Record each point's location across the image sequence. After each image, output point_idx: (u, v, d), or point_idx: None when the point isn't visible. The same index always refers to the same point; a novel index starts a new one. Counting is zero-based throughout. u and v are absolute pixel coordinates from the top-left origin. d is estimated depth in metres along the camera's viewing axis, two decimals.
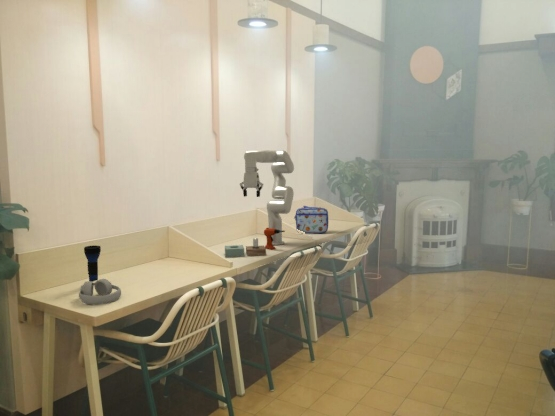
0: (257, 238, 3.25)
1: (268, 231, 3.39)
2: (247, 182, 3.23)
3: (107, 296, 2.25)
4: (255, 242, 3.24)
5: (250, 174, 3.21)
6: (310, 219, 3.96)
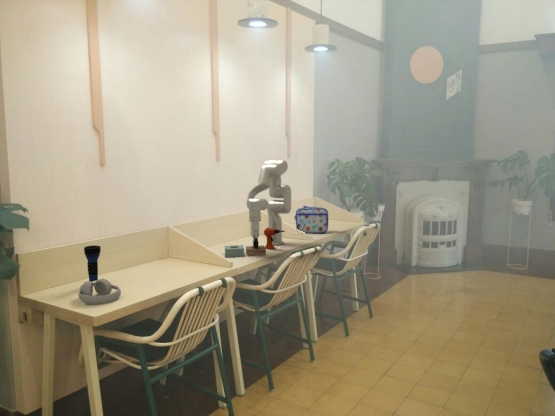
0: None
1: (268, 231, 3.39)
2: None
3: (107, 296, 2.26)
4: None
5: None
6: (310, 219, 3.96)
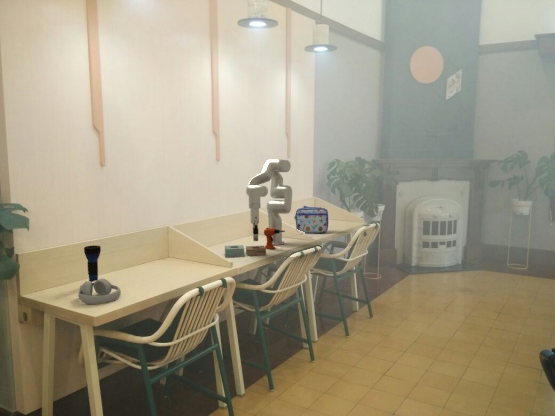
0: None
1: (268, 231, 3.39)
2: None
3: (107, 296, 2.26)
4: None
5: None
6: (310, 219, 3.96)
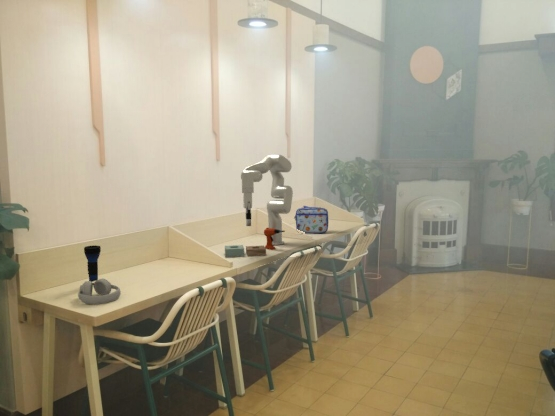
0: None
1: (268, 231, 3.39)
2: None
3: (106, 296, 2.26)
4: None
5: None
6: (310, 219, 3.96)
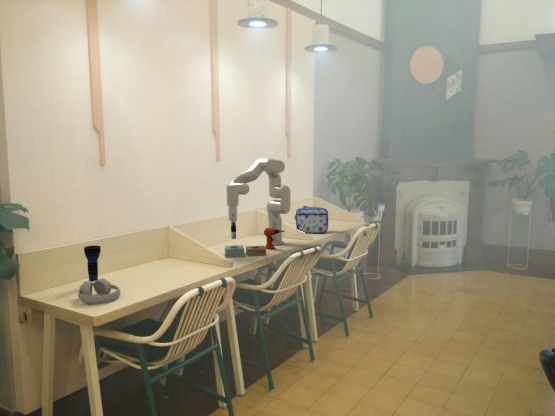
0: None
1: (268, 231, 3.39)
2: None
3: (106, 296, 2.26)
4: None
5: None
6: (310, 219, 3.96)
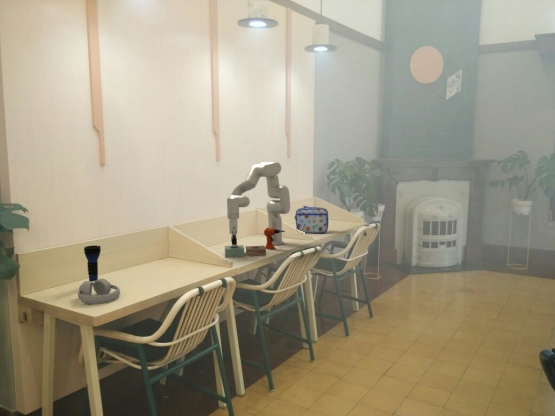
0: None
1: (268, 231, 3.39)
2: None
3: (106, 296, 2.26)
4: None
5: None
6: (310, 219, 3.96)
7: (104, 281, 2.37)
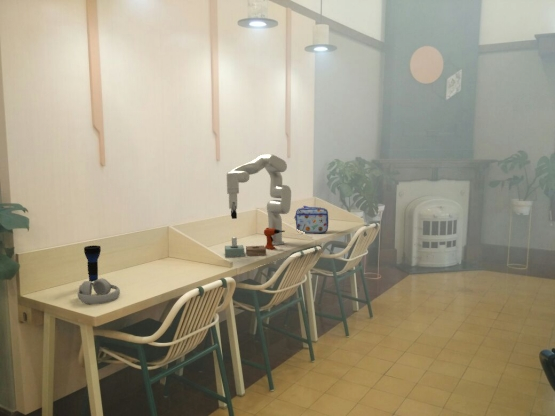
0: None
1: (268, 231, 3.39)
2: None
3: (106, 296, 2.26)
4: (234, 241, 3.22)
5: None
6: (310, 219, 3.96)
7: (104, 281, 2.37)
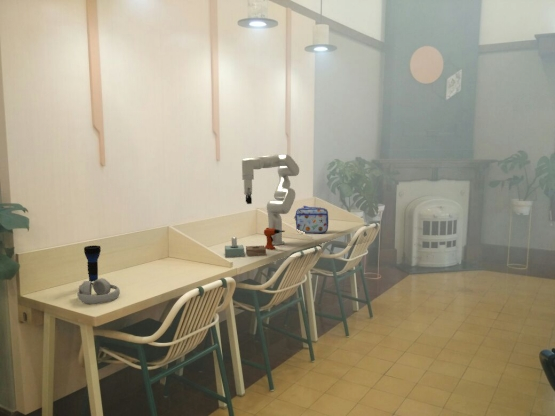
0: None
1: (268, 231, 3.39)
2: None
3: (106, 295, 2.26)
4: (233, 241, 3.22)
5: None
6: (310, 219, 3.96)
7: (104, 281, 2.38)
